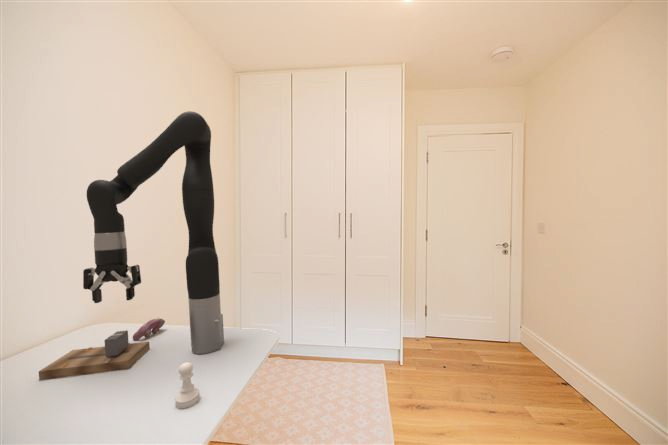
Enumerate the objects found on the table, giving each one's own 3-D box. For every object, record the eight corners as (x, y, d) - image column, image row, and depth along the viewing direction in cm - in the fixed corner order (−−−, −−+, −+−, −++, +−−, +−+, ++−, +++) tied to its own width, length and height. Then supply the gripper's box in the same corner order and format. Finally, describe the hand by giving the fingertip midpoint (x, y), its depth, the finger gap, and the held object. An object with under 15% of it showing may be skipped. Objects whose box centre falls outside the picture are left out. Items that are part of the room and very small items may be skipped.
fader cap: (128, 346, 86) (127, 330, 86) (117, 355, 80) (116, 338, 80) (118, 347, 85) (116, 331, 85) (105, 356, 80) (104, 339, 79)
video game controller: (140, 345, 96) (146, 328, 95) (130, 339, 97) (136, 322, 96) (163, 333, 105) (168, 317, 105) (153, 327, 106) (159, 312, 105)
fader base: (149, 348, 90) (149, 340, 90) (129, 369, 78) (128, 359, 78) (73, 357, 86) (72, 349, 86) (39, 380, 74) (38, 370, 74)
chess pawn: (194, 391, 66) (192, 355, 66) (203, 399, 63) (201, 361, 63) (171, 403, 63) (169, 364, 62) (180, 412, 59) (178, 372, 59)
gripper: (143, 245, 87) (146, 295, 87) (92, 247, 84) (96, 299, 85) (130, 247, 79) (133, 302, 80) (74, 250, 77) (77, 307, 77)
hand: (114, 301), depth 82 cm, fingers open, 8 cm apart
